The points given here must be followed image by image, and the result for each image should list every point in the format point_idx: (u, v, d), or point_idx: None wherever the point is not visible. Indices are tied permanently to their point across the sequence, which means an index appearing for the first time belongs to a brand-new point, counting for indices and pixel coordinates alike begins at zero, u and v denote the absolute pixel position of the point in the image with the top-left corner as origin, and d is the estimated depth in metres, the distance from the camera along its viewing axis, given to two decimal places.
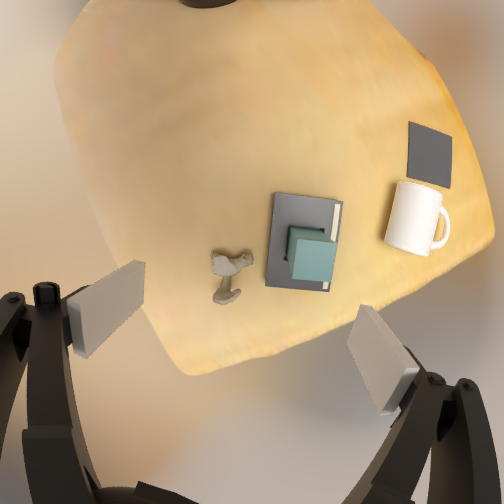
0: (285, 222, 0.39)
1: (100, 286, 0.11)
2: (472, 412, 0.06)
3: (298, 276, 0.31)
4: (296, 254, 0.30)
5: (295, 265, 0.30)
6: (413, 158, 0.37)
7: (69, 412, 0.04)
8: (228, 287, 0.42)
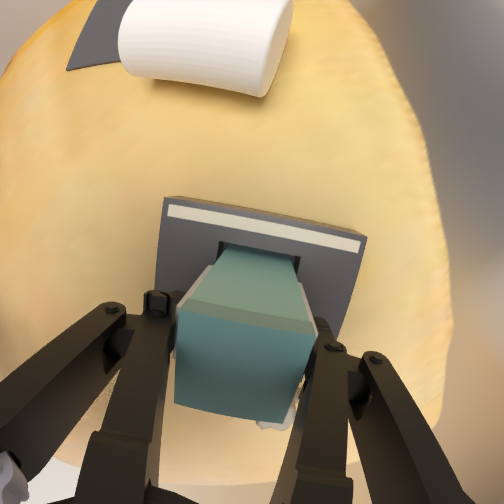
0: None
1: None
2: (389, 388, 0.07)
3: (279, 413, 0.09)
4: (215, 411, 0.10)
5: (246, 416, 0.10)
6: (115, 52, 0.17)
7: (153, 425, 0.05)
8: None
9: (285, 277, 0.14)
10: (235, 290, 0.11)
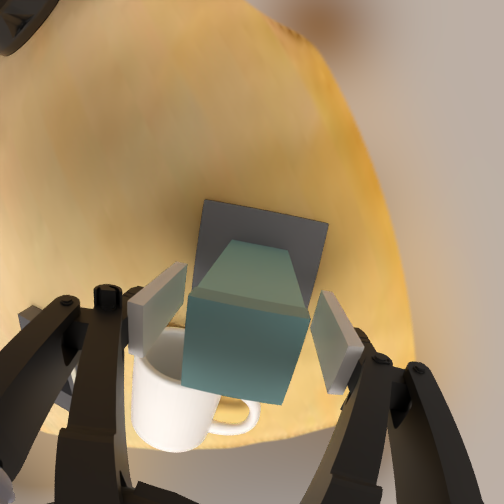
0: None
1: (155, 287, 0.12)
2: (428, 397, 0.07)
3: (278, 394, 0.11)
4: (219, 392, 0.11)
5: (247, 397, 0.11)
6: None
7: (115, 417, 0.05)
8: None
9: (284, 270, 0.16)
10: (238, 280, 0.13)
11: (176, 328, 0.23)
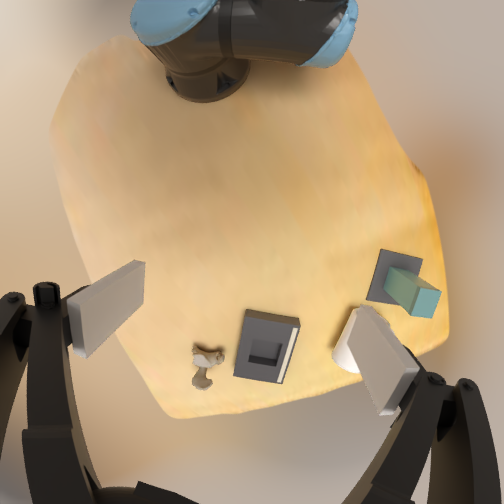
0: (251, 337, 0.48)
1: (100, 286, 0.11)
2: (472, 412, 0.06)
3: (432, 314, 0.35)
4: (419, 316, 0.35)
5: (425, 316, 0.35)
6: (376, 284, 0.47)
7: (69, 412, 0.04)
8: (204, 372, 0.51)
9: (420, 279, 0.40)
10: (419, 283, 0.37)
11: None
